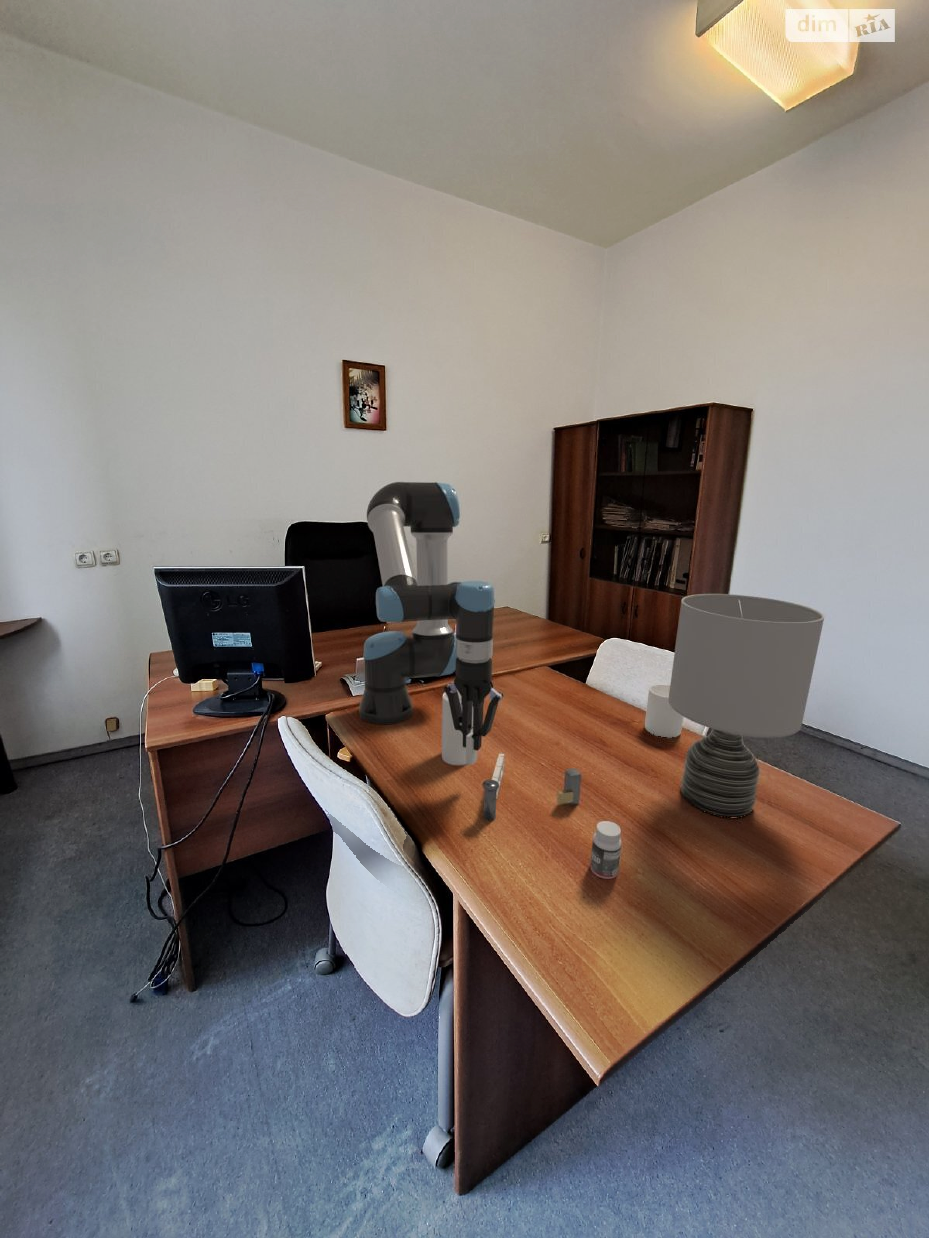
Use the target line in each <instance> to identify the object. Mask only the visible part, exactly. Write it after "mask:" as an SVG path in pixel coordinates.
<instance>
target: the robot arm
mask: <svg viewBox="0 0 929 1238" xmlns="http://www.w3.org/2000/svg"><path fill="white" fill-rule="evenodd" d="M460 514H461V510H460V502H459V498H458V493H457V492H456V489H455V488H454V486H452V485H451V484H450V483H445V482H443V483H442V482H416V481H415V482H414V481H413V482H411V481H410V482H409V481H408V482H407V481H395V482H392V483H389V484H387V485H385V486H383V487H382V488H380V489H378V491H376V493H375V494H374V495H373V496H372V497H371V499H370V501H369V503H368V505H367V509H366V521H367V526H368V528H369V530H370V531H371V532H372V533H373V538H374V542H375V549H376V554H377V559H378V567H379V572H380V579H381V584H382V586H380V587H378V588H377V589H376V592H375V606H376V616H377V618H378V620H379V621H380V622H382V623H404V622H406V623H407V622H417V625H415V627H413V629H412V635H411V636H409V637H407V635H406V634H405V632H402V631H395V630H390V631H384V632H383V631H382V632H378V633H376V634H373V635H371V636H370V637H368V638H367V639H366V640H365V641H364V644H363V655H362V658H363V665H364V667H363V669H364V670H363V671H364V672H363V673H364V691H363V694H362V697H361V699H360V703H359V709H358V710H359V711H358V712H359V713H358V715H359V717H360V719H361V720H363V721H365V722H367V723H371V724H376V725H389V724H390V725H391V724H396V723H401V722H402V721H406V720H407V719H409V717H411V716H412V714H413V703H412V700H411V697H410V694H409V692H408V689H407V679H415V678H428V677H441V676H447V675H451V674H453V673H455V677H454V679H453V682H450V683H448V684H446V685H445V686H444V687H443V691H444V693H446V695H447V696H448V700H449V705H450V709H451V714H452V719H453V724H454V728H455V730H459V731H461V732H462V734H463V747H465V748H466V765H469V766H473V765H474V764H475V763H476V762H477V761H478V751H479V750H480V749H481V747H482V743H483V742H482V738H483V737H486V736H487V735H488V734H489V733H490V732H491V730H492V726H493V724H494V720H495V717H496V713H497V709H498V706H499V703H500V701H502V699H503V698H504V693H503V692H501V691H500V692H498V691H497V690H496V689H494V684H493V682H492V672H493V660H492V657H493V646H494V645H493V643H494V642H493V640H494V635H493V634H494V615H495V614H494V613H495V603H496V600H495V590H494V586H493V584H491V583H489V582H486V581H480V580H478V581H477V580H467V581H451V582H448V539H449V538H450V537H451V536H452V535H453V534H454V531H453V529H454V528H456V527H457V526H459V524H460V518H461V515H460ZM404 527H407V528H408V527H410V534H411V535H412V536H413V537H414V538H415V542H416V543H415V544H416V571H415V568H414V565H413V564H414V563H413V560H412V556H411V552H410V548H409V544H408V540H407V535H406V531H405V528H404ZM415 572H416V573H415ZM449 620H455V633H454V629H453V628H452V627H451V626H450V625H449V623H448V621H449ZM457 690H458V692H459V693H460V695H461V704H462V710H461V705H460V700H459V696H458V692H457ZM488 696H489V699H488V701H490V702H489V703H488V705H487V709H486V713H485V717H484V703H485V699H486V698H487V697H488ZM472 706H473V727H472ZM472 728H473V731H471V729H472Z"/></svg>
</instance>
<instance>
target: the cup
mask: <svg viewBox="0 0 929 1238" xmlns="http://www.w3.org/2000/svg"><path fill="white" fill-rule="evenodd" d="M457 692H458V690H457ZM458 696H459V700H460V705H461V710H462V704H461V695H460V693H459V692H458ZM441 700H442V707H441V708H442V709H441V715H442V721H441V724H442V725H441V758H442V760H443V762H445V763H446V764H449V765H452V766H466V765H467V764H466V748H465V747H463V734H462V732H461V731H459V730H455V728H454V724H453V719H452V714H451V709H450V705H449V700H448V696H447V695H446V693H445V692H444V693H442V698H441ZM472 727H473V706H472ZM471 731H473V728H472V729H471Z"/></svg>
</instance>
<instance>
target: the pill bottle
mask: <svg viewBox="0 0 929 1238" xmlns="http://www.w3.org/2000/svg"><path fill="white" fill-rule="evenodd" d="M621 829H622V828H621V827H620V826H619V825H618V824H617V823H615V822H612V821H609V820H603V821H599V822H598V823H597V824H596V829H595V833H594V834H593V835H592V844H591V854H590V863H589V865H590V866H589V868H590V870H591V872H592V873H593V874H594V875H595V876H597V877H599V878H602V879H606V880H607V879H614V878H615V877H617V876H618V873H619V867H620V860H621V852H622V851H621V850H622V839H621V837H622V830H621Z"/></svg>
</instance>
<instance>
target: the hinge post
mask: <svg viewBox="0 0 929 1238" xmlns="http://www.w3.org/2000/svg"><path fill="white" fill-rule="evenodd" d="M498 788H499V783H498V782H497V781H495V780H492V779H486V780H484V781H483V782H482V789H484V790H483V791H484V792H483V793H484V795H483V798H484V799H483V819H484V821H487V822H488V821H489V822H491V821H495V820H496V818H497V817H496V816H497V815H496V814H497V799H496V796H497V789H498ZM499 789H500V788H499Z"/></svg>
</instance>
